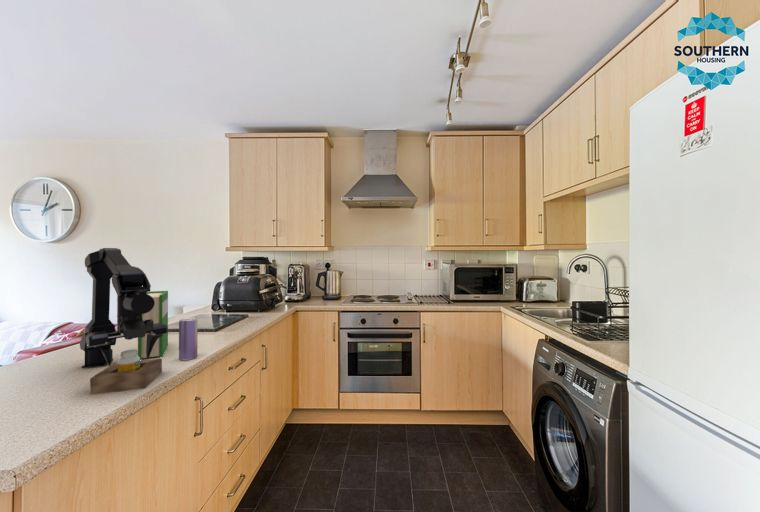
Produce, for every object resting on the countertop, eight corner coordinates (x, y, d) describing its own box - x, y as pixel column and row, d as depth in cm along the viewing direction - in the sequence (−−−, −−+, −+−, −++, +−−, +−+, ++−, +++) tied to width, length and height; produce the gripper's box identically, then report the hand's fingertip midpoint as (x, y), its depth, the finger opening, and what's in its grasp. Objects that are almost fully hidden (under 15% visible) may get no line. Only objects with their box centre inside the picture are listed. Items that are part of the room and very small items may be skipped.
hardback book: (162, 357, 115) (162, 295, 115) (137, 360, 111) (137, 296, 111) (167, 345, 130) (168, 290, 130) (146, 348, 127) (146, 291, 127)
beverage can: (188, 361, 111) (188, 320, 111) (174, 360, 112) (175, 320, 112) (201, 356, 117) (201, 317, 117) (188, 355, 118) (188, 317, 118)
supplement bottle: (121, 380, 94) (121, 349, 94) (142, 377, 96) (142, 347, 96) (114, 387, 89) (114, 355, 89) (137, 383, 91) (137, 352, 91)
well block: (90, 394, 84) (90, 378, 84) (114, 376, 96) (114, 362, 96) (145, 388, 88) (145, 372, 88) (161, 371, 101) (161, 358, 101)
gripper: (92, 318, 80) (92, 377, 80) (173, 309, 95) (173, 358, 95) (85, 314, 87) (85, 367, 87) (162, 305, 102) (162, 351, 102)
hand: (129, 361), depth 92 cm, fingers open, 9 cm apart
